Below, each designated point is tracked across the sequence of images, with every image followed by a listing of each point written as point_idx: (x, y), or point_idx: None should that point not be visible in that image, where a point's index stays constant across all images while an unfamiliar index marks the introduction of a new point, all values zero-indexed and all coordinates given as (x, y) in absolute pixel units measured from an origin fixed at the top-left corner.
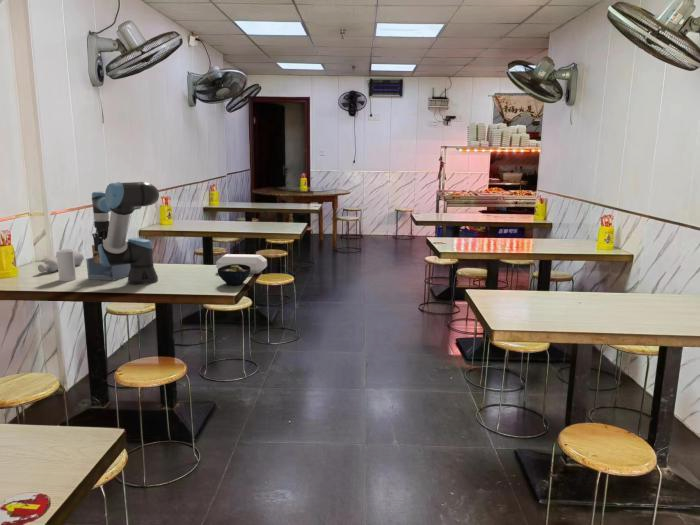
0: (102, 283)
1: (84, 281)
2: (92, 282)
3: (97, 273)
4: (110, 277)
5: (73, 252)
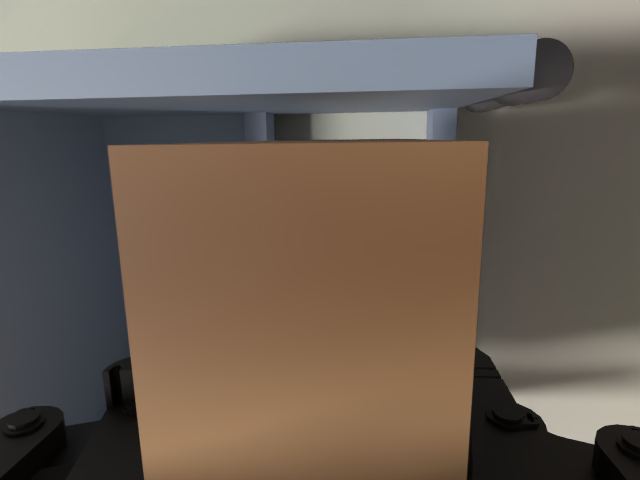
0: (610, 101)
1: (562, 348)
2: (587, 242)
3: None
4: (454, 120)
5: None
